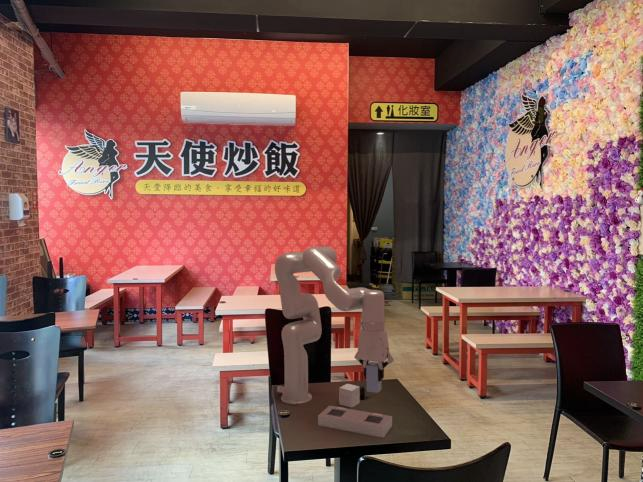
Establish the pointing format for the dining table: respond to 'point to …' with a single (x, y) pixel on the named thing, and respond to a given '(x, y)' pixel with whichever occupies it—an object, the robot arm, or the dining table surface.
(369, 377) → the plug
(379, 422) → the panel
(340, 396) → the product box
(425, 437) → the dining table surface
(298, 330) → the robot arm
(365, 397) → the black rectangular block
